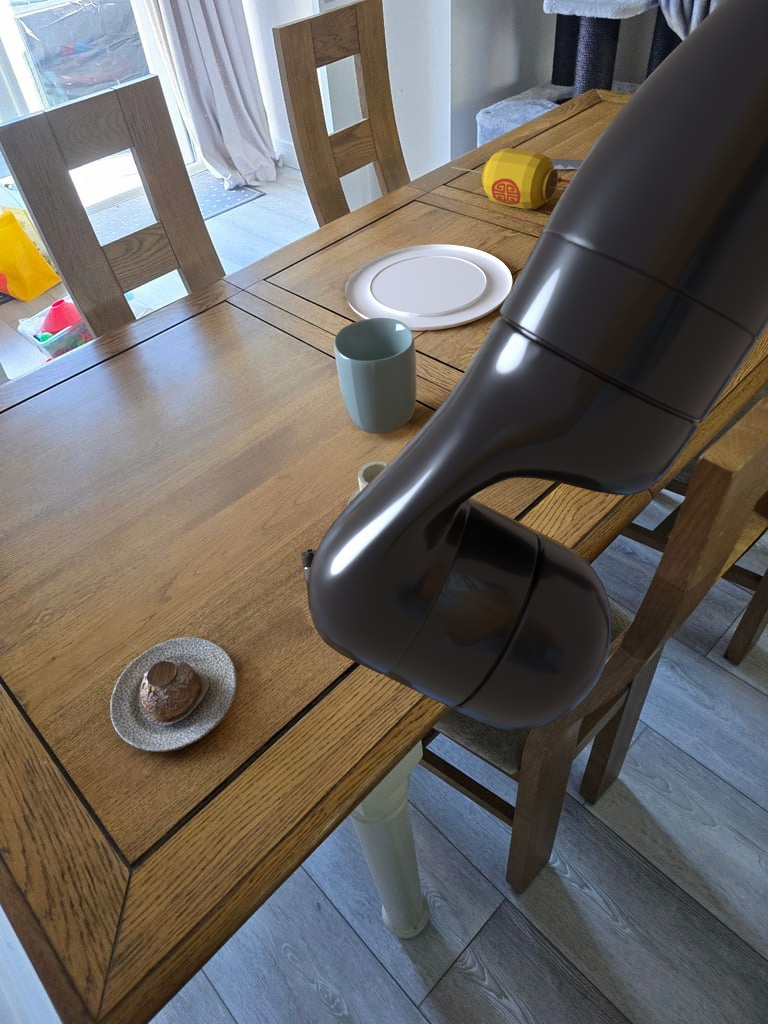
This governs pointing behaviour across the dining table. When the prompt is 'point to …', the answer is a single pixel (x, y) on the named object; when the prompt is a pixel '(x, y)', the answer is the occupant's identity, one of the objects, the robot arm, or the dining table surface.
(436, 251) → the plate
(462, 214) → the dining table surface
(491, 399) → the robot arm
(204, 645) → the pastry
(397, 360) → the cup
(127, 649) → the dining table surface
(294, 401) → the dining table surface
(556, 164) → the knife
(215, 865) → the dining table surface
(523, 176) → the lantern
